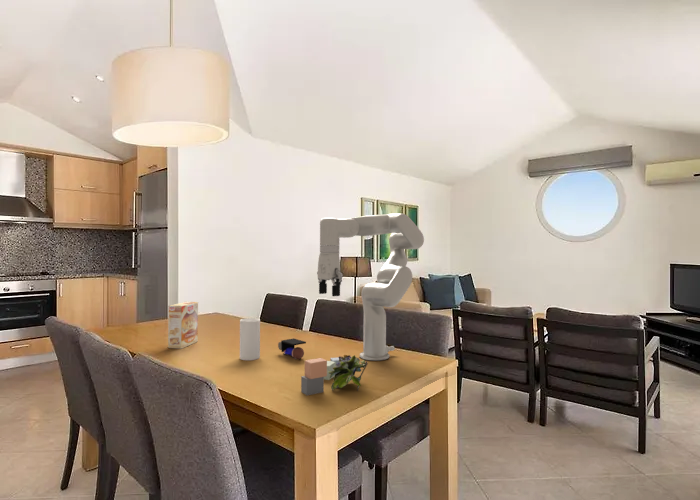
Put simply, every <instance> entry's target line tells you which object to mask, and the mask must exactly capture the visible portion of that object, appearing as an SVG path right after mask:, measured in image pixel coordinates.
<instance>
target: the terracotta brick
mask: <svg viewBox="0 0 700 500" xmlns="http://www.w3.org/2000/svg"><path fill="white" fill-rule="evenodd" d="M327 361H328V360H326V359H324V358H322V357H318V358H313V359H312V358H311V359H307V360H304V376H306V377H307V378H309V379H314V378H319V377H325V376H327Z"/></svg>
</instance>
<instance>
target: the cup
mask: <svg viewBox="0 0 700 500" xmlns="http://www.w3.org/2000/svg"><path fill="white" fill-rule="evenodd" d="M260 357H261V319H260V318H258V317H256V318H255V317H248V318H247V317H246V318H241V319H239V359H240V361H241V360H243V361H256V360H258V359H260Z"/></svg>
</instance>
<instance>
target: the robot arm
mask: <svg viewBox="0 0 700 500" xmlns="http://www.w3.org/2000/svg"><path fill="white" fill-rule="evenodd" d="M386 234H387V235H388V234H390V235H389V238H388V239H389V240H388V243H389V250H390V251H389V256H388V258H387V260H386V261H385V262H384V263H383V265H382V266H381V268H380V269H379V270H378V272H377V274H376V281H377V282H369V283H366V284H365V285H364V286H363V287H362V289H361V300H362V301H361V302H362V308H363V340H362V341H363V345H362V346H363V347H362V349H363V351H362V352H360V353H359V359H360V358H361V359H362V360H365V361H377V362H378V361H386V360H387V359H389V358H390V353H389V352H393V351H395V350H396V349H395V346H394V345H391V346H388V345H387V313H386V310H385V308H394V307H396V306H397V305H399V303H400V302H401V300H402V299H403V297H404V296H405V294H406V293H407V291H408V290H409V288H410V286H411V284H412V281H413V271H412V270H411V269H410V268H409V267H408V266H407V265H408V258H407V255H406V250H417V249H418V250H419V249H420V248H422V246H423V245H424V241H425V238H424V237H425V236H424V235H423V232H422V231H421V230H420V228H419V227H418V226H417V224H415V222H414V221H413V220H412V219H411V218H410V216H408V215H407V214H405V213H403V212H402V213H400V212H399V213H386V214H385V213H384V214H373V215H371V214H370V215H369V214H368V215H363V216H356V217H348V218H346V217H345V218H335V217H322V218H321V219H320V222H319V255H318V256H319V257H318V262H317V272H316V275H317V280H318V289H319V290H318V293H319V295H322V294H325V295H326V294H327V293H328V292H327V291H328V287H327V286H328V284H327V281H331V284H332V286H331V297H340V296H341V286H342V282H343V276H344V275H343V273H342V272H341V260H340V258H341V257H340V238H344V239H345V238H349V239H350V238H353V237H359V236H360V237H368V236H369V237H371V236H378V235H379V236H380V235H386ZM384 307H385V308H384Z"/></svg>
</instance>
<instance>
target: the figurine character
mask: <svg viewBox="0 0 700 500" xmlns="http://www.w3.org/2000/svg"><path fill="white" fill-rule="evenodd" d="M306 343H307V341H305V340H300V339H297V338H288V339H284V340H281V341H279V342H278V343H277V348H278V350H280V351H281V353H282V355H285V356H287V355H288V356H292V358H293V359H294V360H300V359H302V358H303V357H304V354H305V351H304V349H303V347H300V346H298V345H303V344H306ZM296 346H297V347H296Z"/></svg>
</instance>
